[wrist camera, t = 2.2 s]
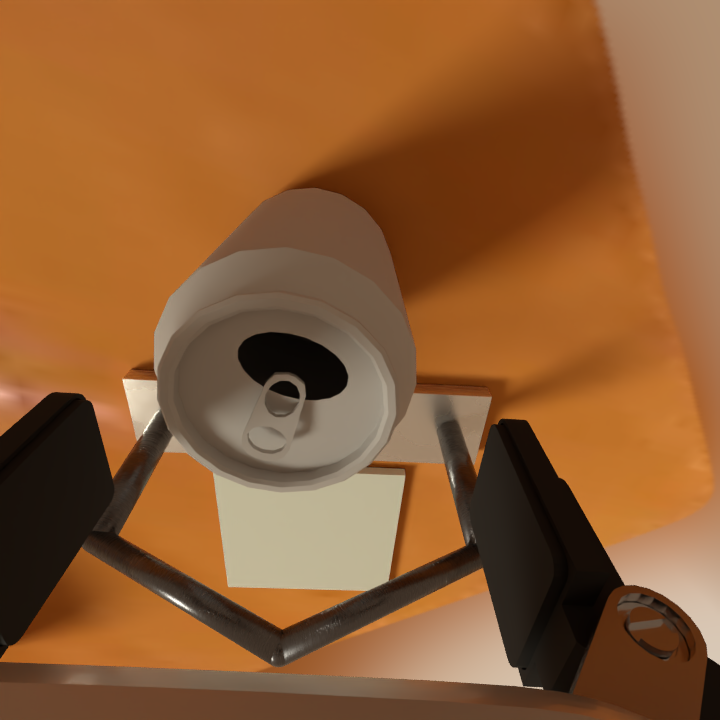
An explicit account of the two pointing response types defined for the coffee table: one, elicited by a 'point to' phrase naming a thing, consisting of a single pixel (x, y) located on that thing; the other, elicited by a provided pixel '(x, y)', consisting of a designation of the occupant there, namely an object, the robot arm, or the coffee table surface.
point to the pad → (311, 532)
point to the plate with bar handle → (280, 647)
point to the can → (288, 347)
